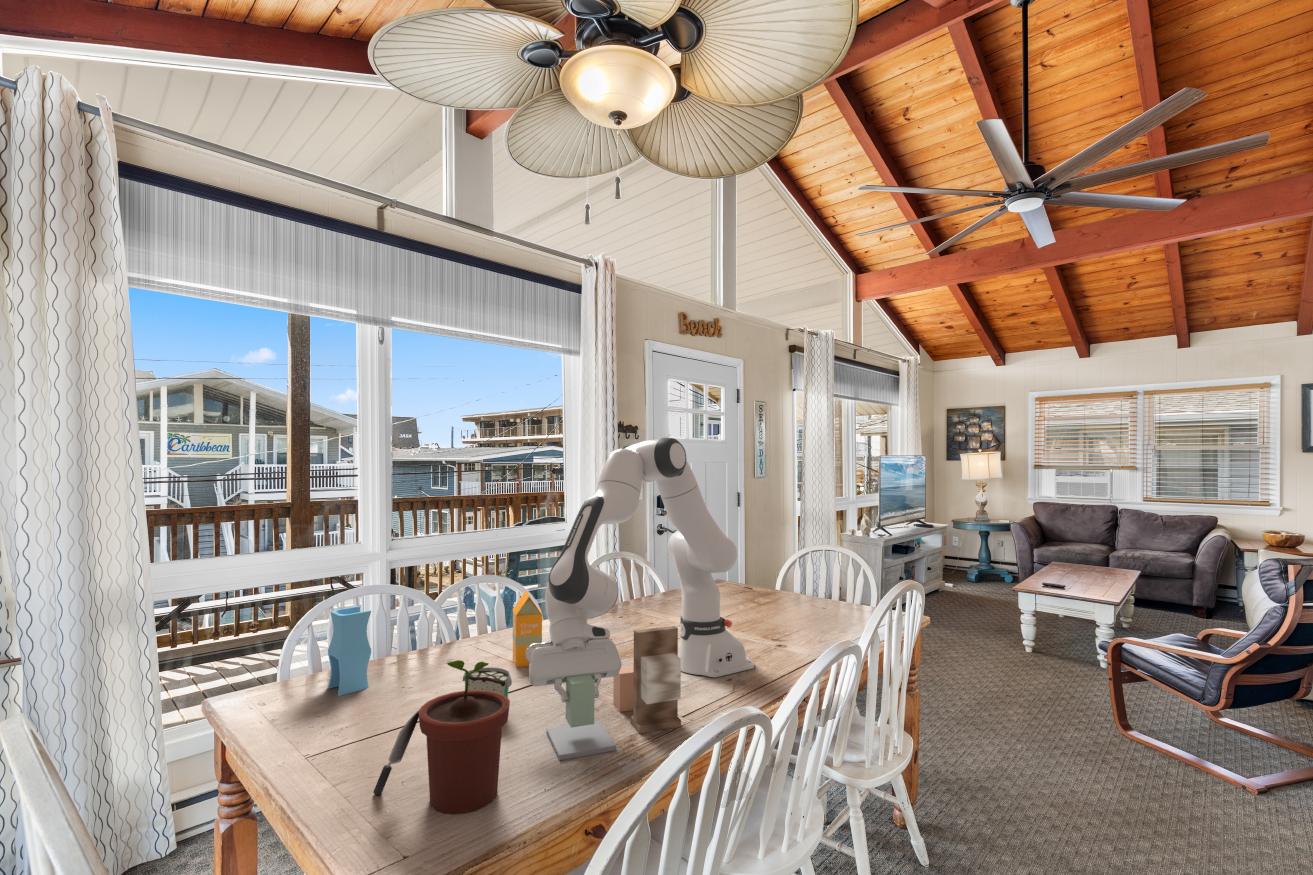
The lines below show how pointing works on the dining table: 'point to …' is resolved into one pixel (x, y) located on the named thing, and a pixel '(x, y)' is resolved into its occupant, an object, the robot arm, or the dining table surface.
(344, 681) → the vase
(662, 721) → the wall stand
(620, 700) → the terracotta block
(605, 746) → the grey board
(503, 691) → the food container
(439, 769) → the potted plant
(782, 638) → the dining table surface
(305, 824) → the dining table surface
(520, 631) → the orange juice
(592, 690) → the green block
